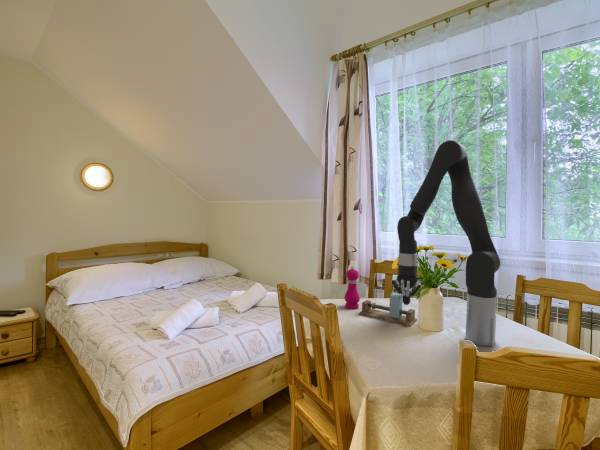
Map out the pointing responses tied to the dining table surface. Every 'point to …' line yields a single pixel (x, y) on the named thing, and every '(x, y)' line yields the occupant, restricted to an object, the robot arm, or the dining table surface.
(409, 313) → the rail
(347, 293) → the pepper mill
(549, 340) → the dining table surface
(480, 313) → the robot arm
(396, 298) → the sleeve
